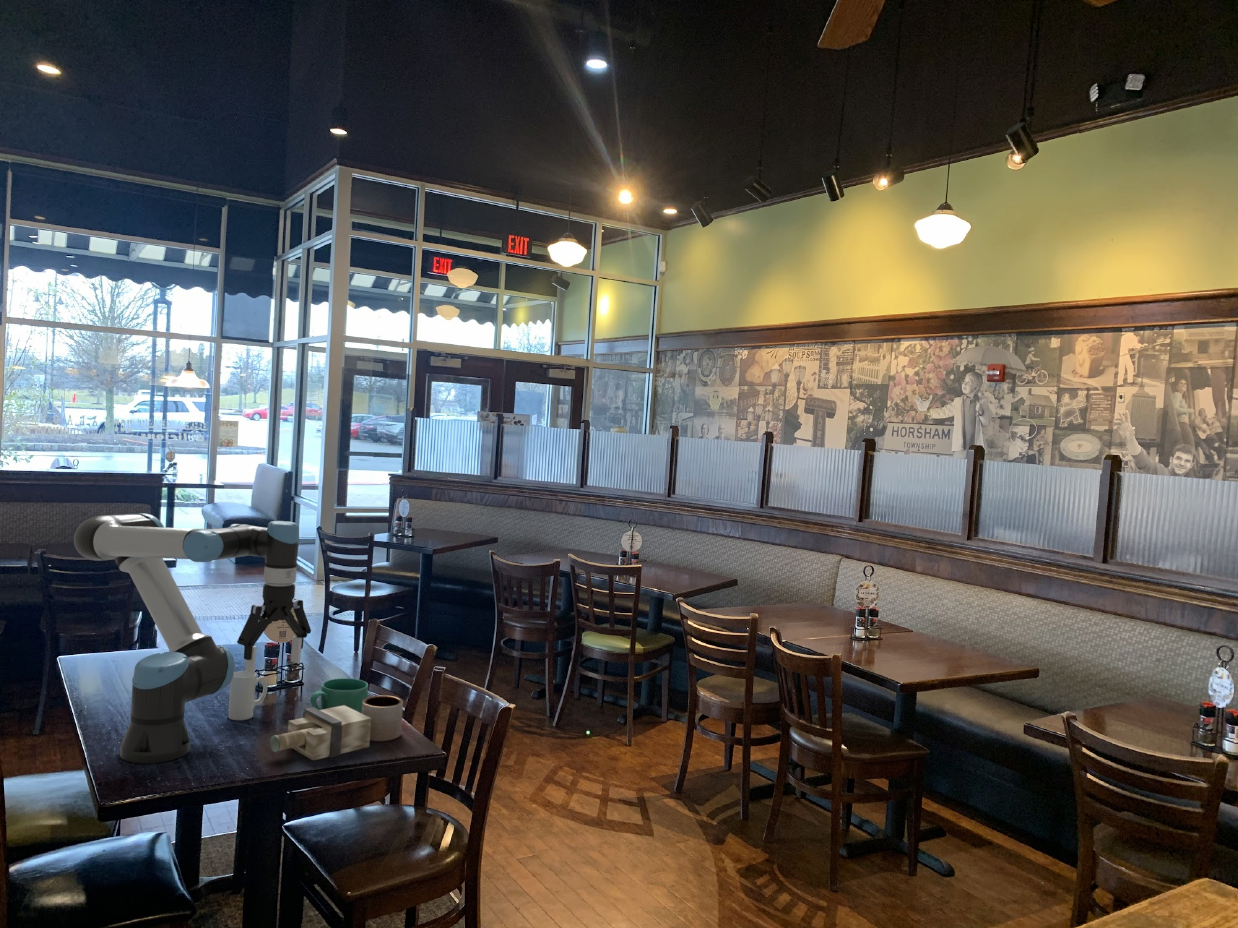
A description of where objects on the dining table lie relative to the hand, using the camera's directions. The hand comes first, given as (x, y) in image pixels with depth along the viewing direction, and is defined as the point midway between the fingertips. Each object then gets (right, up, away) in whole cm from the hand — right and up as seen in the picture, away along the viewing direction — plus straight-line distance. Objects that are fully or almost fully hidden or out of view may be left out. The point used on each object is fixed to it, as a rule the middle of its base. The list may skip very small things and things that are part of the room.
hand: (273, 667), depth 218 cm
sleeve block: (+11, -22, +8) cm, 26 cm away
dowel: (+6, -20, +2) cm, 21 cm away
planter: (+22, -23, +18) cm, 37 cm away
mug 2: (+6, -22, +29) cm, 37 cm away
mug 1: (-17, -20, +25) cm, 36 cm away
